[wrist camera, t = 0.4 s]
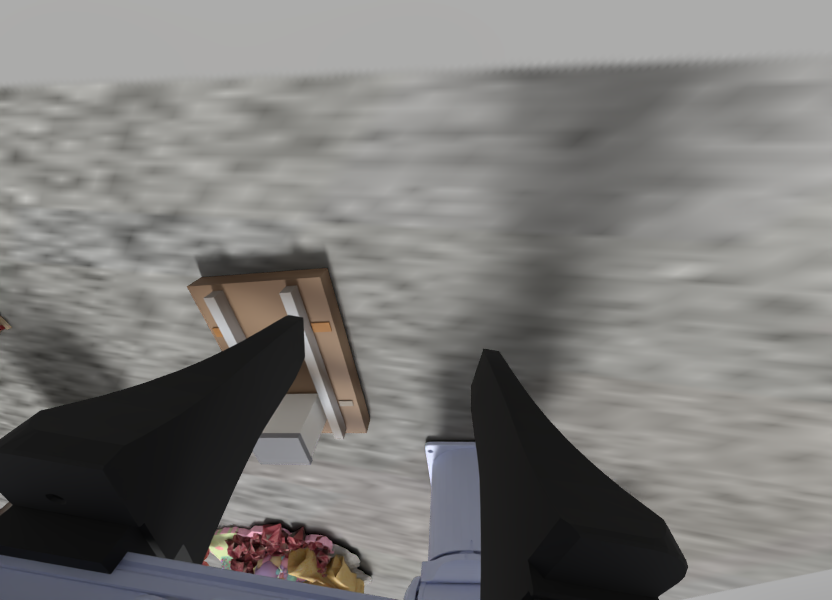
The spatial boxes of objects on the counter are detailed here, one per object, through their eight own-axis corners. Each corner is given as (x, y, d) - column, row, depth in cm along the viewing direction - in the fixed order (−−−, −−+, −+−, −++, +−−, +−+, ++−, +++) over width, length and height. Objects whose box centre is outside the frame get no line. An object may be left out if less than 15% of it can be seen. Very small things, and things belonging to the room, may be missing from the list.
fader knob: (329, 418, 27) (310, 464, 24) (284, 418, 28) (260, 464, 24) (319, 392, 26) (297, 438, 22) (272, 393, 26) (244, 437, 23)
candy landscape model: (311, 507, 40) (277, 602, 32) (398, 581, 50) (389, 669, 42) (184, 532, 48) (132, 615, 40) (281, 593, 57) (255, 669, 49)
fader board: (370, 419, 30) (364, 442, 28) (274, 419, 31) (261, 442, 29) (327, 267, 22) (314, 283, 20) (201, 277, 23) (176, 293, 21)
